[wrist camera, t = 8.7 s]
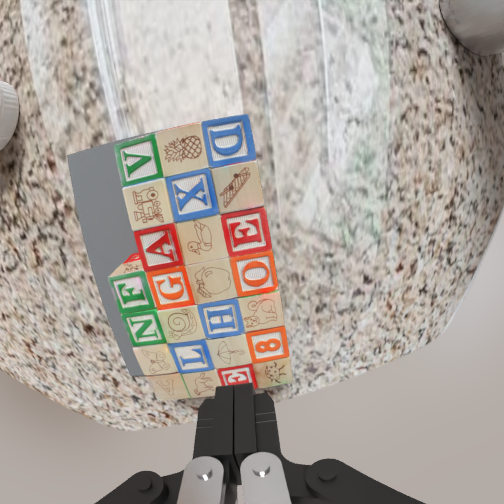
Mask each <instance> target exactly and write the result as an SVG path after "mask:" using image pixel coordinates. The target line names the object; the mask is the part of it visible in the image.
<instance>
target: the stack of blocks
mask: <svg viewBox="0 0 504 504" xmlns="http://www.w3.org/2000/svg"><path fill="white" fill-rule="evenodd" d="M114 151H115V156H116V162H117V167H118V171H119V176H120V180H121V185H122V187H123V189H122V190H123V195H124V199H125V203H126V208H127V212H128V216H129V220H130V224H131V228H132V230H133V232H134V237H135V241H136V245H137V248H138V252H139V253H134V254H131V255H130V256H129V257H128V259H127V260H126V261H125V262H124V263H123V264H121V265H120V266H119V267H118V268H117V269H116V270H115V271H114V272H113V273H112V274H111V275H110V276H109V277H108V281H109V284H110V287H111V290H112V293H113V296H114V298H115V301H116V304H117V307H118V310H119V312H120V313H121V319H122V321H123V324H124V326H125V329H126V332H127V334H128V337H129V339H130V342H131V344H132V346H133V351H134V353H135V355H136V358H137V360H138V362H139V365H140V367H141V369H142V371H143V373H144V375H147V378H148V380H149V382H150V384H151V386H152V388H153V390H154V392H155V394H156V396H157V398H158V400H159V401H165V400H176V399H185V398H199V397H208V396H215V389H216V386H225V385H234V386H235V384H243V383H251V382H253V385H254V389H256V388H259V389H262V388H267V387H273V386H278V385H282V384H287V383H292V382H293V377H292V370H291V363H290V357H289V349H288V343H287V336H286V329H285V325H284V317H283V310H282V304H281V297H280V292H279V286H278V280H277V275H276V269H275V262H274V256H273V250H272V244H271V238H270V232H269V226H268V220H267V214H266V209H265V205H264V198H263V192H262V186H261V181H260V175H259V170H258V164H257V160H256V152H255V146H254V141H253V136H252V130H251V125H250V120H249V116H248V114H243V115H236V116H230V117H224V118H219V119H213V120H208V121H203V122H197V123H192V124H187V125H183V126H178V127H174V128H170V129H166V130H162V131H159V132H156V133H154V134H149V135H145V136H142V137H138V138H135V139H132V140H128V141H125V142H122V143H119V144H116V145H114Z"/></svg>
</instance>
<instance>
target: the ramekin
mask: <svg viewBox="0 0 504 504" xmlns="http://www.w3.org/2000/svg"><path fill="white" fill-rule="evenodd" d="M18 116H19V101H18V96H17V93H16V91H15V89H14V88H13V87H12V86H11V85H9V84H8V83H5V82H2V81H0V150H2V149H3V148H4V147H5V146H6V145H7V143H8V142H9V141H10V139H11V137H12V135H13V133H14V131H15V128H16V125H17V121H18Z"/></svg>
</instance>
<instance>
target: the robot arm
mask: <svg viewBox="0 0 504 504" xmlns="http://www.w3.org/2000/svg"><path fill="white" fill-rule="evenodd" d="M440 9H441V13H442V15H443V18H444V20H445V22H446V24H447V26H448V28H449V29H450V30H451V32H452V33H453V35H454V36H455V37H456V38H457V40H458V41H459V42H460V43H461V44H462V45H463V46H464V47H465V48H467V49H468V50H469V51H471V52H473V53H475V54H476V55H480V56H488V55H492V54H497V53H501V52H504V0H440ZM237 485H242V489H243V496H244V504H425V503H423V502H420V501H418V500H416V499H414V498H411V497H409V496H407V495H405V494H403V493H401V492H398V491H396V490H394V489H392V488H390V487H388V486H386V485H384V484H382V483H380V482H378V481H376V480H374V479H372V478H370V477H368V476H366V475H364V474H363V473H361V472H359V471H357V470H355V469H353V468H352V467H350V466H348V465H346V464H345V463H343V462H341V461H339V460H336V459H322V460H319V461H317V462H315V463H313V464H312V465H301V464H295V463H292V462H290V461H288V460H287V459H285V458H284V457H283V455H282V454H281V450H280V442H279V435H278V428H277V421H276V414H275V408H274V401H273V400H272V398H271V397H270V396H269V395H268V393H262V394H255V390H254V385H253V382H251V383H243V384H235V386H234V385H225V386H216V389H215V399H205V400H204V402H203V403H202V405H201V406H200V408H199V411H198V421H197V429H196V435H195V444H194V453H193V459H192V461H190V462H189V463H188V464H187V465H186V467H185V469H184V470H183V471H181V472H179V473H175V474H172V475H167V476H163V477H160V476H159V475H158V474H157V473H155V472H151V471H141V472H138V473H136V474H134V475H133V476H132V477H130V478H129V479H128V480H126V481H125V482H124V483H122V484H121V485H120V486H118V487H117V488H116V489H114V490H113V491H112V492H110V493H109V494H107V495H106V496H105V497H103V498H102V499H101V500H99V501H98V502H96V503H95V504H238V499H237Z"/></svg>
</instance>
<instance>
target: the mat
mask: <svg viewBox="0 0 504 504" xmlns="http://www.w3.org/2000/svg"><path fill="white" fill-rule="evenodd" d="M165 130H166V129H165ZM160 131H162V130H160ZM156 132H159V131H156ZM156 132H151V133H147V134H143V135H138V136H134V137H130V138H126V139H122V140H119V141H115V142H111V143H107V144H104V145H100V146H97V147H93V148H90V149H87V150H83V151H80V152H77V153H74V154H70V155H67V157H68V164H69V170H70V176H71V181H72V187H73V192H74V197H75V202H76V207H77V212H78V216H79V221H80V225H81V229H82V233H83V237H84V241H85V245H86V249H87V253H88V256H89V260H90V263H91V267H92V270H93V274H94V277H95V280H96V284H97V287H98V290H99V293H100V296H101V299H102V302H103V305H104V308H105V311H106V314H107V317H108V320H109V322H110V325H111V328H112V331H113V333H114V336H115V339H116V341H117V344H118V346H119V349H120V351H121V354H122V356H123V359H124V361H125V364H126V366H127V368H128V371H129V373H130V375H131V376H141V375H144V373H143V371H142V369H141V367H140V365H139V362H138V360H137V358H136V355H135V353H134V351H133V346H132V344H131V342H130V339H129V337H128V334H127V332H126V329H125V326H124V324H123V321H122V319H121V313H120V312H119V310H118V307H117V304H116V301H115V298H114V296H113V293H112V290H111V287H110V284H109V281H108V277H109V276H110V275H111V274H112V273H113V272H114V271H115V270H116V269H117V268H118V267H119V266H120V265H121V264H123V263H124V262H125V261H126V260H127V259H128V257H129V256H130V255H131V254H134V253H139V252H138V248H137V245H136V241H135V237H134V232H133V230H132V228H131V224H130V220H129V216H128V212H127V208H126V203H125V199H124V195H123V190H122V189H123V187H122V185H121V180H120V176H119V171H118V167H117V162H116V156H115V151H114V145H116V144H119V143H122V142H125V141H128V140H132V139H135V138H138V137H142V136H145V135H149V134H154V133H156Z"/></svg>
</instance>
